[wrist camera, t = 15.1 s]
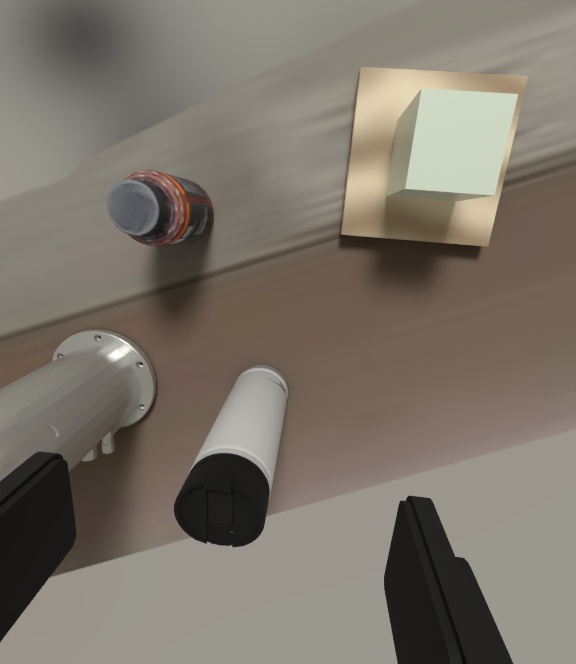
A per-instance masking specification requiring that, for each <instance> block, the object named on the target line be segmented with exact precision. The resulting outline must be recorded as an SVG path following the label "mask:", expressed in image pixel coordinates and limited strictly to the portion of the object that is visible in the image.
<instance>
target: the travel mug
mask: <svg viewBox="0 0 576 664" xmlns="http://www.w3.org/2000/svg"><path fill="white" fill-rule="evenodd" d="M288 393H289V388H288V383H287V381H286V379H285V377H284V376H283V375H282V373H280V372H279V371H278V370H277V369H275V368H273V367H271V366H267V365H254V366H251V367H248V368H247V369H245V370H244V371H243V372H242V373H241V374H240V375H239V377H238V379H237V381H236V383H235V385H234V386H233V388H232V390H231V392H230V394H229V396H228V398H227V400H226V402H225V404H224V406H223V408H222V410H221V411H220V413H219V415H218V417H217V419H216V421H215V423H214V425H213V427H212V429H211V431H210V433H209V435H208V437H207V438H206V440H205V442H204V444H203V446H202V448H201V450H200V452H199V454H198V456H197V458H196V460H195V462H194V464H193V466H192V467H191V469H190V472H189V474H188V477H187V479H186V481H185V483H184V485H183V486H182V488H181V490H180V492H179V494H178V496H177V498H176V501H175V504H174V513H175V518H176V520H177V522H178V524H179V525H180V526H181V528H182V529H183V530H184V531H185V532H186V533H187V534H188V535H189V536H191V537H192V538H194V539H195V540H198V541H200V542H203V543H207V541H208V542H210V543H212V544H217V545H226V546H229V545H232V547H239V546H244V545H247V544H249V543H251V542H253V541H254V540H256V539H257V538H258V537H259V535H260V534H261V533H262V531H263V528H264V524H265V518H266V513H267V507H268V502H269V500H270V495H271V489H272V484H273V478H274V472H275V467H276V461H277V455H278V450H279V444H280V438H281V433H282V427H283V421H284V416H285V410H286V404H287V398H288Z"/></svg>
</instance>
